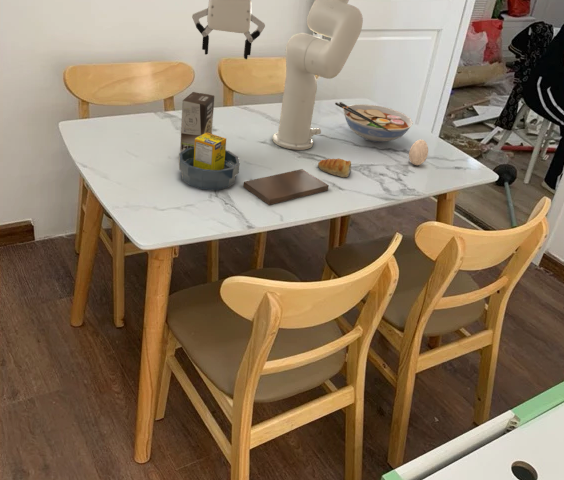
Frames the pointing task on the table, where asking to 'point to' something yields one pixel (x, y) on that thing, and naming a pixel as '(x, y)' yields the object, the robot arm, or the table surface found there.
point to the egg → (418, 152)
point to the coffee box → (196, 118)
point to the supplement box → (209, 152)
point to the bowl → (208, 171)
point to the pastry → (335, 167)
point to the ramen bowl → (376, 121)
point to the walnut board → (285, 186)
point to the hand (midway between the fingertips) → (225, 55)
